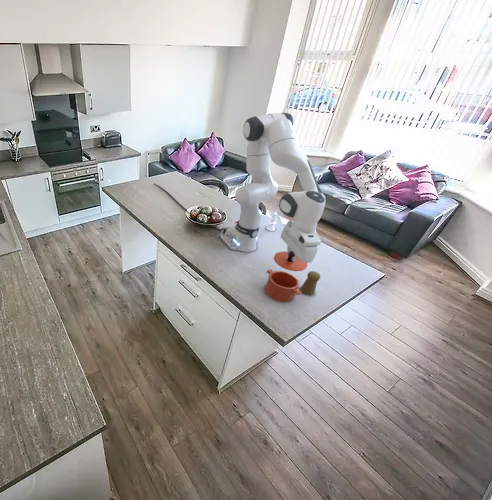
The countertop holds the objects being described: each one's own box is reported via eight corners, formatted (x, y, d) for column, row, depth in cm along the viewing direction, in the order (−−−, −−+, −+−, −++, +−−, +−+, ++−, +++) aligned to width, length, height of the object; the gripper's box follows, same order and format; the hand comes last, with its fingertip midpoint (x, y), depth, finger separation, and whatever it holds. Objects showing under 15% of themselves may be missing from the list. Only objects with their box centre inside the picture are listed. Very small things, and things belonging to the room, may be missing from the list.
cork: (302, 285, 141) (309, 267, 135) (315, 290, 138) (323, 272, 132) (298, 291, 137) (306, 273, 131) (312, 297, 134) (320, 279, 128)
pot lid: (291, 275, 120) (295, 265, 117) (266, 258, 130) (269, 248, 127) (313, 267, 125) (318, 257, 122) (288, 250, 135) (291, 241, 132)
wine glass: (274, 231, 184) (279, 214, 178) (265, 229, 186) (270, 212, 180) (275, 228, 188) (280, 211, 181) (267, 226, 190) (271, 209, 184)
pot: (284, 309, 128) (290, 295, 123) (255, 284, 141) (259, 272, 137) (304, 300, 132) (310, 287, 128) (274, 277, 146) (278, 265, 141)
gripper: (282, 218, 126) (273, 245, 134) (308, 244, 109) (296, 272, 117) (296, 218, 127) (286, 244, 135) (323, 244, 110) (311, 272, 118)
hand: (291, 258), depth 126 cm, fingers closed on pot lid, 2 cm apart
